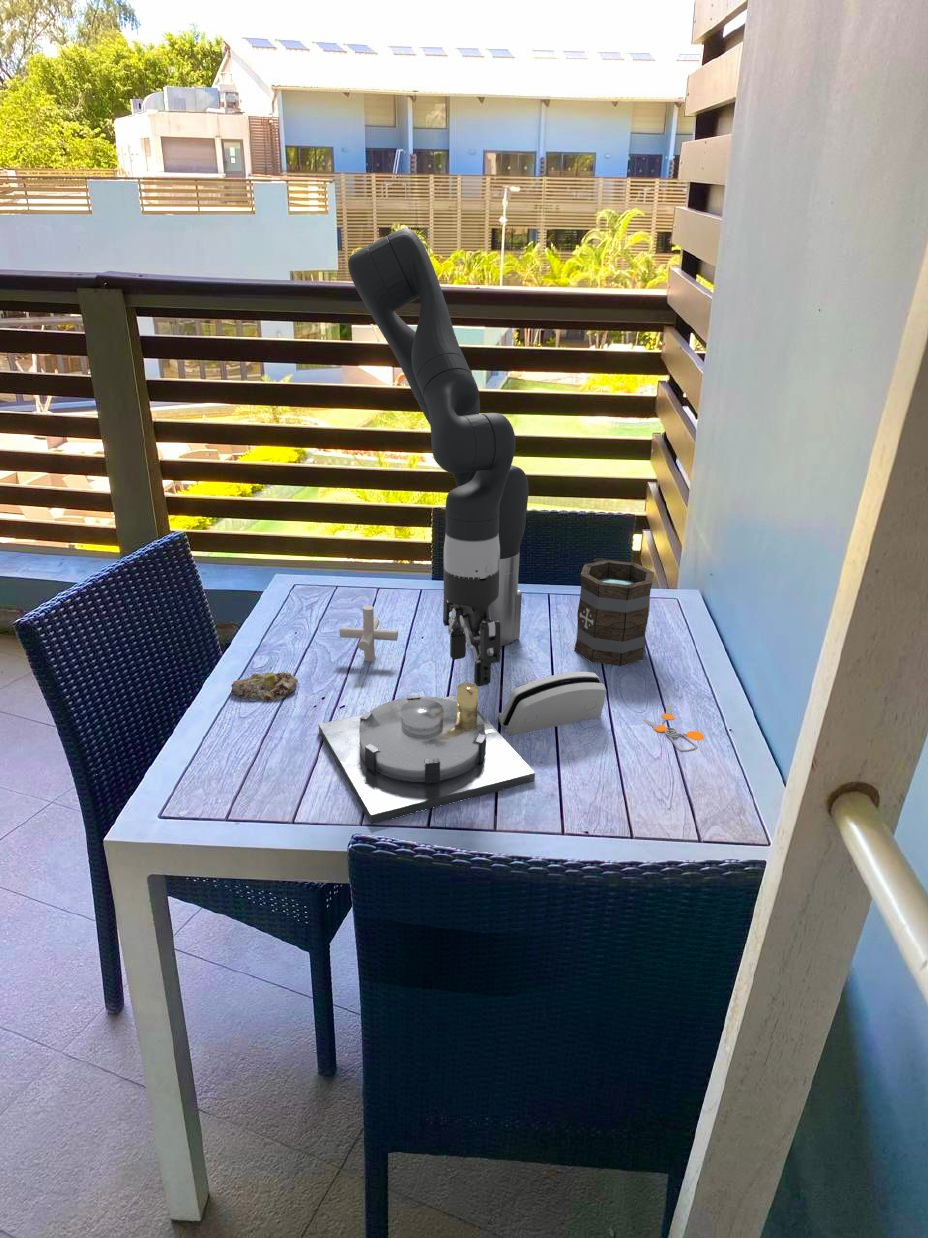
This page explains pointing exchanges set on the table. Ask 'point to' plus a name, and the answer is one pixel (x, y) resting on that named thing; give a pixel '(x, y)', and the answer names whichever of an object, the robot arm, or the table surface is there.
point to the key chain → (661, 728)
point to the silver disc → (424, 736)
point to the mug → (613, 612)
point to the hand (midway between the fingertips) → (469, 670)
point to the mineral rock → (265, 686)
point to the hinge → (553, 702)
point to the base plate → (404, 797)
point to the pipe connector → (368, 633)
